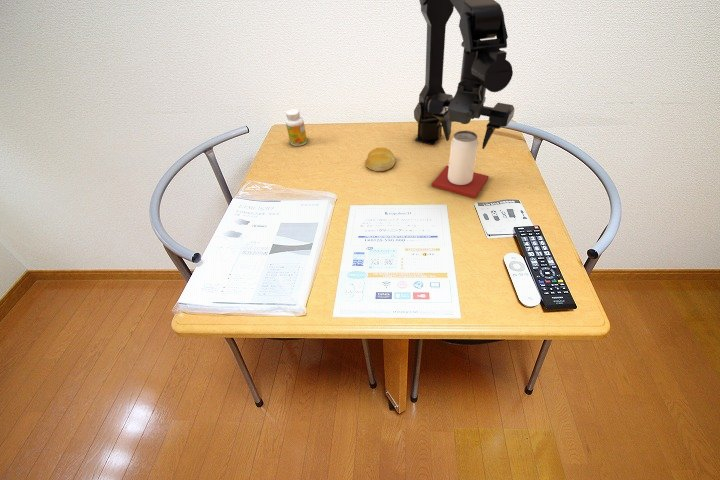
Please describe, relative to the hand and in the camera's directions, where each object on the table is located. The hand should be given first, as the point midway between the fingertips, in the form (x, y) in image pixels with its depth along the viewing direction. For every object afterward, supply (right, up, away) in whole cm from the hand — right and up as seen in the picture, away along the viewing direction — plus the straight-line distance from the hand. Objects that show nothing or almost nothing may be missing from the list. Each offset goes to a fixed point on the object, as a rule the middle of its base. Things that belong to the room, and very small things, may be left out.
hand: (465, 144), depth 89 cm
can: (0, -7, +7) cm, 10 cm away
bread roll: (-21, 0, +16) cm, 26 cm away
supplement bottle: (-47, +10, +27) cm, 55 cm away
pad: (0, -8, +8) cm, 11 cm away
